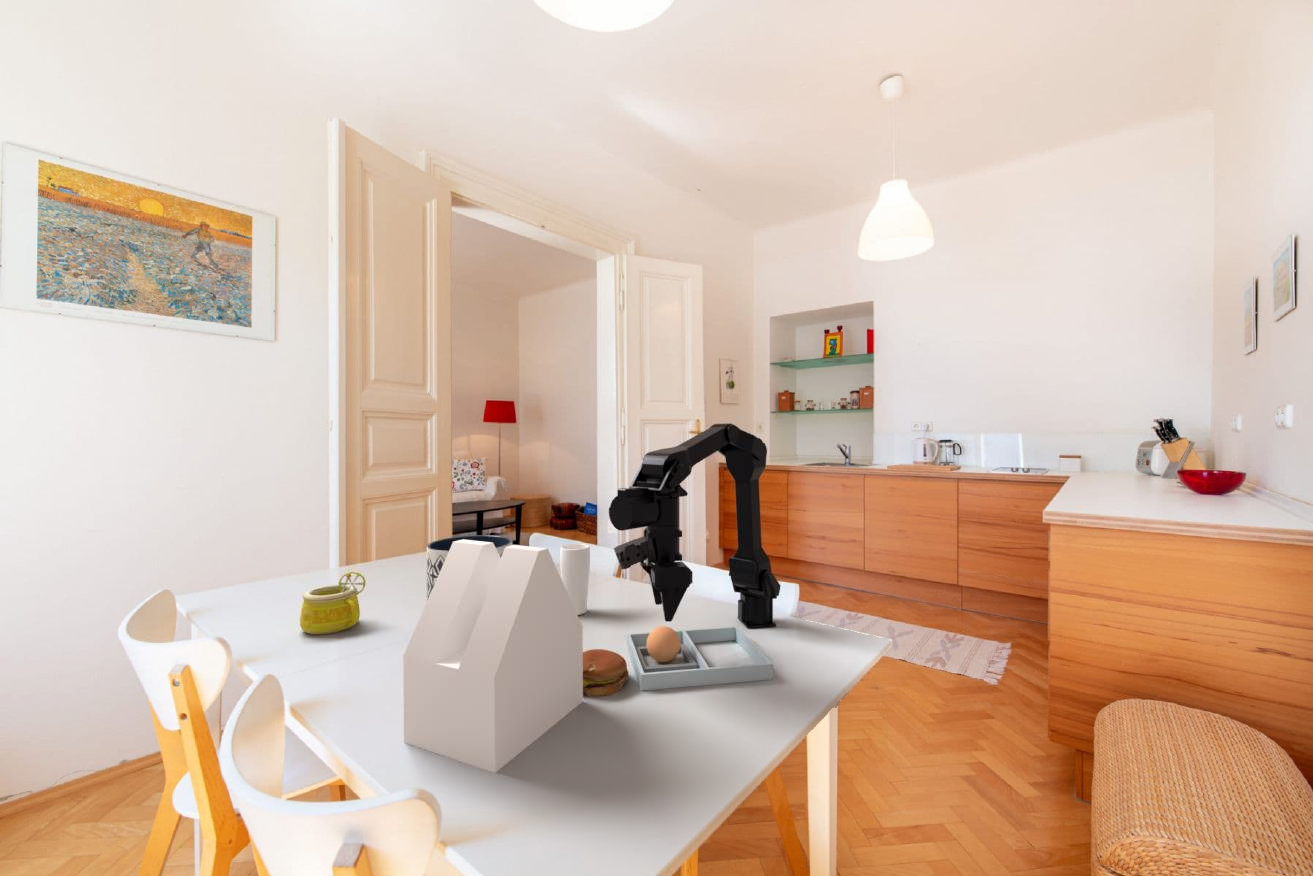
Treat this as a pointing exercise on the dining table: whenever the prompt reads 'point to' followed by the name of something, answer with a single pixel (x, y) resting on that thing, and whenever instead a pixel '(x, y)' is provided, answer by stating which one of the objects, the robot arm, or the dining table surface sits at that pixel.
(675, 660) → the square tray
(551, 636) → the slotted house block
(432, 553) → the planter
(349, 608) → the mug
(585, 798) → the dining table surface
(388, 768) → the dining table surface
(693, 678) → the two compartment tray
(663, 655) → the ball
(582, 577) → the drinking glass
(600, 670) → the burger
